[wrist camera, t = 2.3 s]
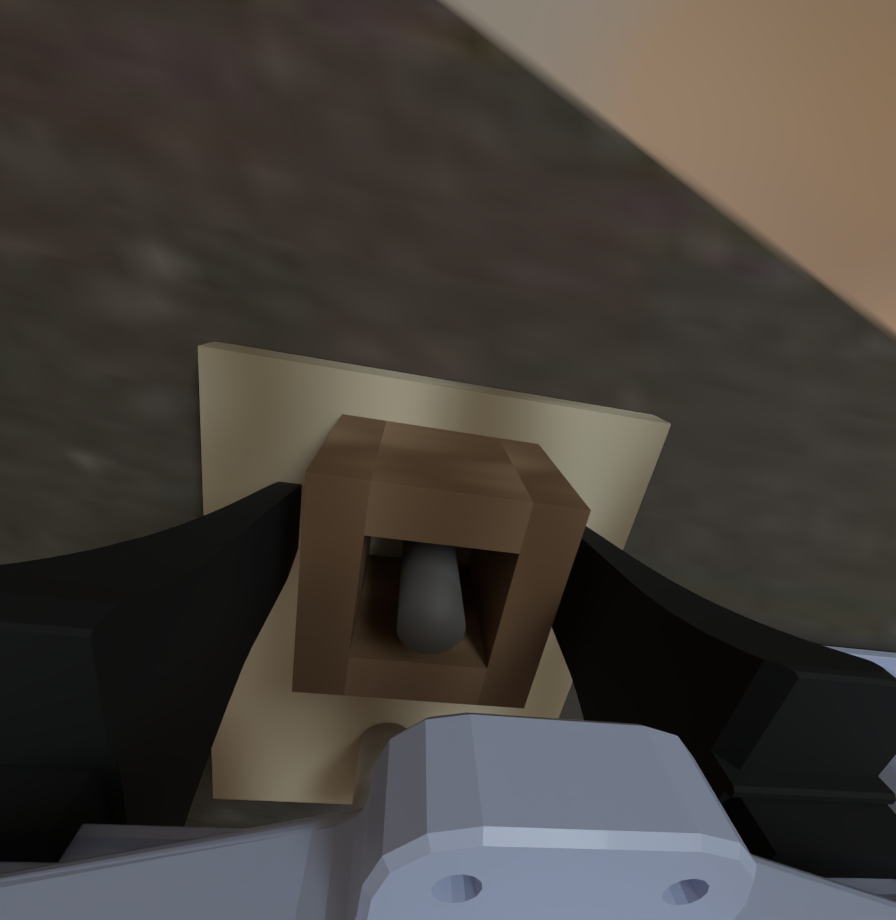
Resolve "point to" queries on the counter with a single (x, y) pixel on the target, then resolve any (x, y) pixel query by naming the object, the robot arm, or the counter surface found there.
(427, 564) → the fitting board
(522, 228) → the counter surface
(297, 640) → the collar
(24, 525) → the counter surface
